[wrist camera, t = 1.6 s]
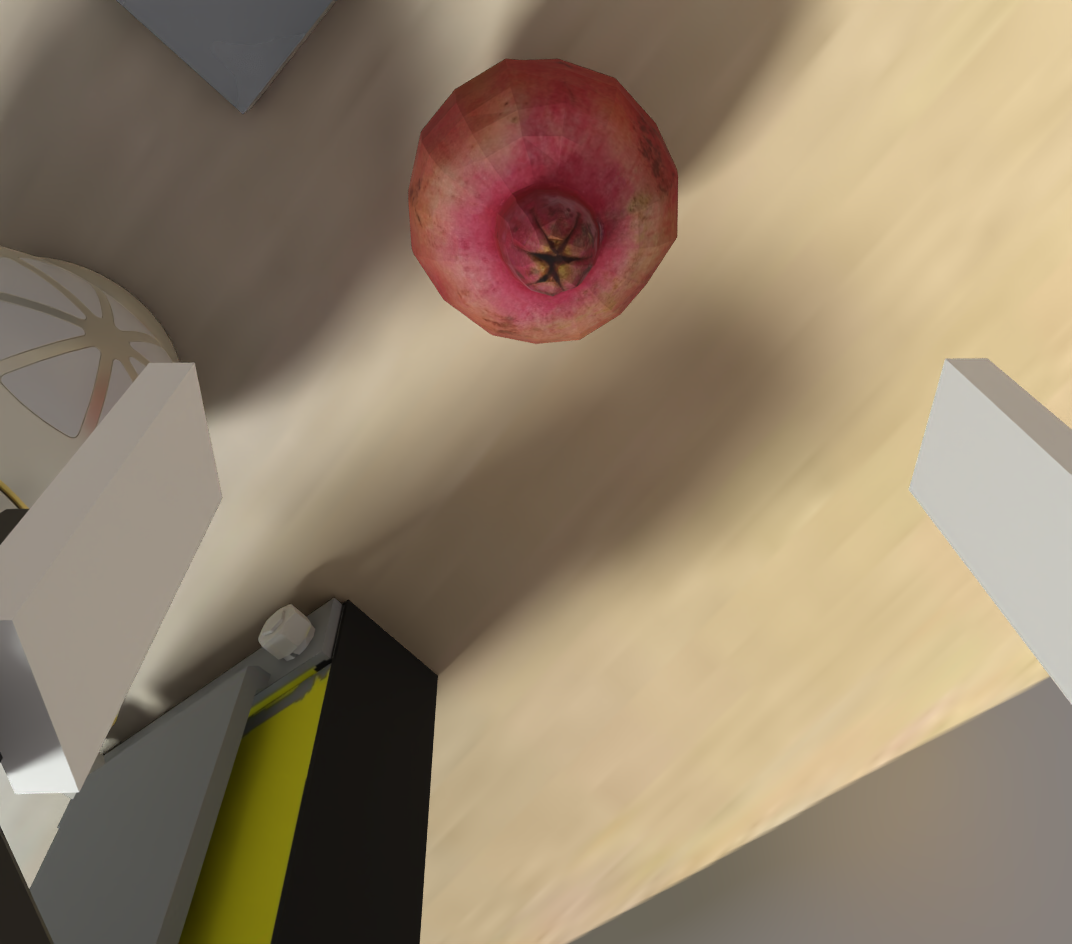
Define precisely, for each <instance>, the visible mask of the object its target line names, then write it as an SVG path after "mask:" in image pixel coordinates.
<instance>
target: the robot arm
mask: <svg viewBox="0 0 1072 944" xmlns="http://www.w3.org/2000/svg"><path fill="white" fill-rule="evenodd" d="M909 491H910V492H911V493H912V495H913V496H914V497H915V499H916V500H917V501H918V503H919V504H920V505H921V506H922V508H923V509H924V510H925V512H926V513H927V514H928V516H929V517H930V518H931V520H932V521H933V522H934V524H935V525H936V526H937V528H938V529H939V530H940V532H941V533H942V534H943V535H944V537H945V538H946V539H947V541H948V542H949V543H950V545H951V546H952V547H953V549H954V550H955V551H956V553H957V554H958V555H959V557H960V558H961V559H962V561H963V562H964V563H965V565H966V566H967V567H968V568H969V570H970V571H971V572H972V574H973V575H974V576H975V578H976V579H977V580H978V582H979V583H980V584H981V586H982V587H983V588H984V590H985V591H986V592H987V594H988V595H989V596H990V598H991V599H992V600H993V601H994V603H995V604H996V605H997V607H998V608H999V609H1000V611H1001V612H1002V613H1003V615H1004V616H1005V617H1006V619H1007V620H1008V621H1009V623H1010V624H1011V625H1012V627H1013V628H1014V629H1015V630H1016V632H1017V633H1018V634H1019V636H1020V637H1021V638H1022V640H1023V641H1024V642H1025V644H1026V645H1027V646H1028V648H1029V649H1030V650H1031V652H1032V653H1033V654H1034V656H1035V657H1036V658H1037V660H1038V661H1039V662H1040V663H1041V665H1042V666H1043V667H1044V669H1045V670H1046V671H1047V673H1048V674H1049V675H1050V677H1051V678H1052V679H1053V680H1054V682H1055V683H1056V684H1057V686H1058V687H1059V689H1060V690H1061V691H1062V693H1063V694H1064V695H1065V696H1066V698H1067V699H1068V700H1069V702H1070V703H1071V704H1072V429H1070V428H1069V427H1068V426H1067V425H1066V424H1064V423H1063V422H1062V421H1061V420H1060V419H1059V418H1057V417H1056V416H1055V415H1054V414H1053V413H1051V412H1050V411H1049V410H1048V409H1047V408H1046V407H1044V406H1043V405H1042V404H1041V403H1040V402H1038V401H1037V400H1036V399H1035V398H1034V397H1032V396H1031V395H1030V394H1029V393H1028V392H1027V391H1025V390H1024V389H1023V388H1022V387H1021V386H1019V385H1018V384H1017V383H1016V382H1015V381H1014V380H1012V379H1011V378H1010V377H1009V376H1008V375H1006V374H1005V373H1004V372H1003V371H1002V370H1000V369H999V368H998V367H997V366H996V365H995V364H993V363H992V362H991V361H990V360H989V359H987V358H979V359H945V361H944V365H943V369H942V372H941V376H940V379H939V383H938V387H937V390H936V394H935V397H934V401H933V405H932V408H931V412H930V415H929V419H928V423H927V426H926V430H925V433H924V437H923V441H922V444H921V448H920V451H919V455H918V459H917V462H916V466H915V469H914V473H913V476H912V480H911V484H910V487H909ZM221 500H222V493H221V488H220V483H219V478H218V473H217V469H216V464H215V459H214V454H213V449H212V444H211V440H210V435H209V430H208V425H207V420H206V415H205V410H204V406H203V401H202V396H201V391H200V386H199V381H198V377H197V372H196V367H195V363H149V364H148V365H147V366H146V367H145V368H144V370H143V371H142V372H141V373H140V375H139V376H138V377H137V378H136V379H135V381H134V382H133V383H132V384H131V386H130V387H129V388H128V389H127V390H126V392H125V393H124V394H123V395H122V397H121V398H120V399H119V400H118V402H117V403H116V404H115V405H114V406H113V408H112V409H111V410H110V411H109V413H108V414H107V415H106V416H105V417H104V419H103V420H102V421H101V422H100V424H99V425H98V426H97V427H96V428H95V430H94V431H93V432H92V433H91V435H90V436H89V437H88V438H87V439H86V441H85V442H84V443H83V444H82V446H81V447H80V448H79V449H78V450H77V452H76V453H75V454H74V455H73V457H72V458H71V459H70V460H69V462H68V463H67V464H66V465H65V466H64V468H63V469H62V470H61V471H60V473H59V474H58V475H57V476H56V477H55V479H54V480H53V481H52V482H51V484H50V485H49V486H48V487H47V488H46V490H45V491H44V492H43V493H42V495H41V496H40V497H39V498H38V499H37V501H36V502H35V503H34V504H33V506H32V507H31V508H30V509H6V510H4V511H2V512H1V513H0V762H1V763H2V766H3V768H4V770H5V772H6V774H7V777H8V779H9V781H10V783H11V786H12V788H13V790H14V792H15V794H37V793H76V792H80V790H81V788H82V786H83V784H84V782H85V780H86V777H87V775H88V773H89V771H90V769H91V767H92V765H93V763H94V761H95V759H96V757H97V755H98V753H99V751H100V749H101V747H102V745H103V743H104V740H105V738H106V736H107V734H108V732H109V730H110V728H111V726H112V724H113V722H114V720H115V718H116V716H117V714H118V712H119V710H120V708H121V706H122V703H123V701H124V699H125V697H126V695H127V693H128V691H129V689H130V687H131V685H132V683H133V681H134V679H135V677H136V675H137V673H138V671H139V669H140V666H141V664H142V662H143V660H144V658H145V656H146V654H147V652H148V650H149V648H150V646H151V644H152V642H153V640H154V638H155V636H156V634H157V632H158V629H159V627H160V625H161V623H162V621H163V619H164V617H165V615H166V613H167V611H168V609H169V607H170V605H171V603H172V601H173V599H174V597H175V595H176V592H177V590H178V588H179V586H180V584H181V582H182V580H183V578H184V576H185V574H186V572H187V570H188V568H189V566H190V564H191V562H192V560H193V558H194V555H195V553H196V551H197V549H198V547H199V545H200V543H201V541H202V539H203V537H204V535H205V533H206V531H207V529H208V527H209V525H210V523H211V520H212V518H213V516H214V514H215V512H216V510H217V508H218V506H219V504H220V502H221ZM0 944H54V942H53V940H52V938H51V936H50V934H49V931H48V929H47V927H46V925H45V923H44V921H43V918H42V916H41V914H40V912H39V910H38V907H37V905H36V903H35V901H34V899H33V897H32V894H31V892H30V890H29V888H28V886H27V883H26V881H25V879H24V877H23V875H22V873H21V870H20V868H19V866H18V864H17V862H16V859H15V857H14V855H13V853H12V851H11V849H10V846H9V844H8V842H7V840H6V838H5V835H4V833H3V831H2V829H1V827H0Z"/></svg>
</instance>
